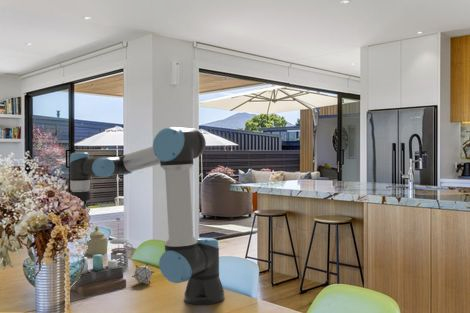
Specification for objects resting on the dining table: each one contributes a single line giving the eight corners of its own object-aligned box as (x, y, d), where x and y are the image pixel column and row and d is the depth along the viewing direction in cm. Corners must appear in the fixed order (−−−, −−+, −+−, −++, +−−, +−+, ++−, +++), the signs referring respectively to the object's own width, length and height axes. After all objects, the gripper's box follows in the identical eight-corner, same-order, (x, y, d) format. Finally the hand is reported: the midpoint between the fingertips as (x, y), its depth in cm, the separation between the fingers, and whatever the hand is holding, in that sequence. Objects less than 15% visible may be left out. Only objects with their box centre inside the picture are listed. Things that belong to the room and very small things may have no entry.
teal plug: (104, 269, 193) (104, 255, 193) (95, 271, 190) (95, 257, 190) (100, 268, 196) (100, 253, 196) (91, 269, 193) (90, 255, 193)
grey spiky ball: (138, 293, 197) (123, 274, 197) (150, 280, 204) (136, 263, 204) (150, 285, 192) (135, 267, 192) (162, 273, 199) (147, 255, 199)
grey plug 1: (89, 272, 189) (89, 258, 188) (79, 274, 186) (79, 259, 186) (85, 271, 192) (85, 256, 192) (76, 272, 189) (75, 258, 189)
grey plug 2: (119, 274, 197) (118, 260, 197) (110, 276, 195) (110, 262, 194) (115, 273, 200) (114, 259, 200) (106, 274, 198) (105, 260, 197)
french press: (107, 268, 224) (105, 217, 223) (131, 265, 229) (129, 215, 228) (110, 273, 215) (109, 219, 214) (135, 270, 220) (134, 217, 219)
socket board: (127, 286, 194) (127, 268, 194) (82, 296, 182) (82, 277, 181) (112, 279, 205) (112, 262, 205) (69, 289, 192) (68, 271, 192)
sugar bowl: (79, 252, 261) (78, 225, 261) (97, 248, 269) (96, 223, 269) (93, 256, 251) (92, 228, 250) (111, 252, 259) (110, 225, 258)
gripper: (96, 191, 186) (97, 249, 186) (82, 188, 196) (84, 244, 196) (77, 192, 181) (78, 252, 181) (65, 190, 191) (66, 247, 191)
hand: (81, 248), depth 189 cm, fingers closed
